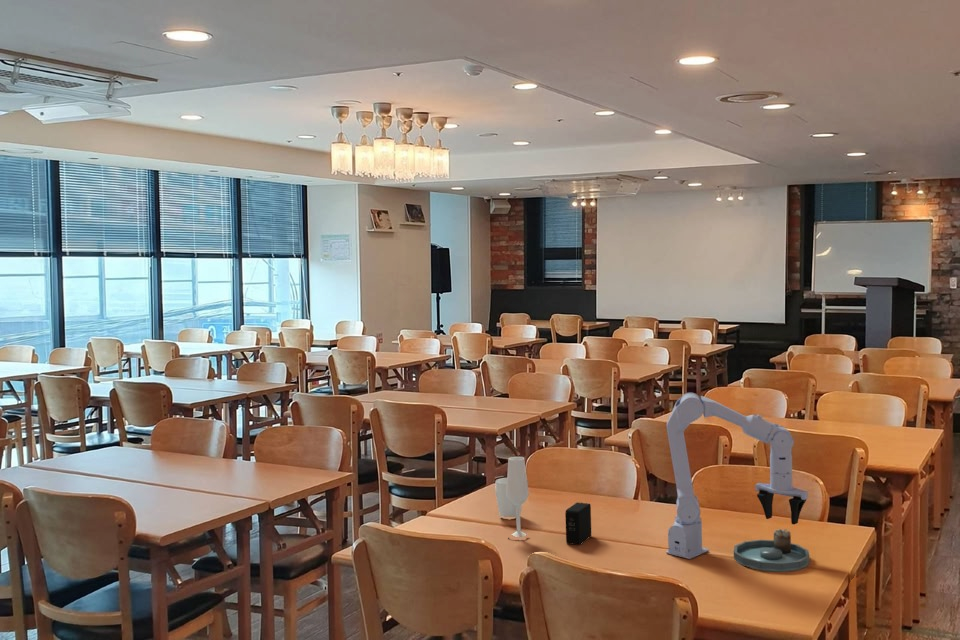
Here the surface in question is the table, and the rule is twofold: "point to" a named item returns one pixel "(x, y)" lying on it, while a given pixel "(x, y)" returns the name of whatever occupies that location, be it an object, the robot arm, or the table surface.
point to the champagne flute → (517, 487)
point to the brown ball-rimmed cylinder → (782, 540)
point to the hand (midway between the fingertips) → (781, 520)
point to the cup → (504, 499)
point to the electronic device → (578, 523)
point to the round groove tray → (757, 557)
